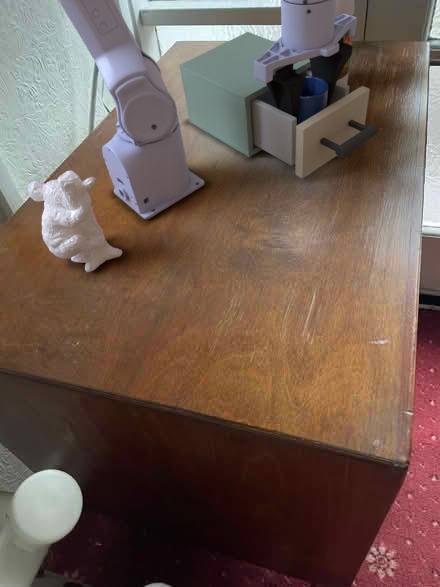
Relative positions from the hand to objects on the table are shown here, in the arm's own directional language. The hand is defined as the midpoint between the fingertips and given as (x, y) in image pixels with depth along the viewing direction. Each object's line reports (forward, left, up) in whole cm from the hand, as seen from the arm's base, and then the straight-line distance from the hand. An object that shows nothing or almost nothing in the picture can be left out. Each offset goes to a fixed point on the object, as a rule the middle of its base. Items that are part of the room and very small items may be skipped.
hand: (304, 114), depth 59 cm
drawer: (0, -1, -4) cm, 4 cm away
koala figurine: (-31, +4, -5) cm, 32 cm away
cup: (0, 0, -1) cm, 1 cm away
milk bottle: (+13, +9, -5) cm, 17 cm away
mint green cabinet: (0, +11, -5) cm, 12 cm away
